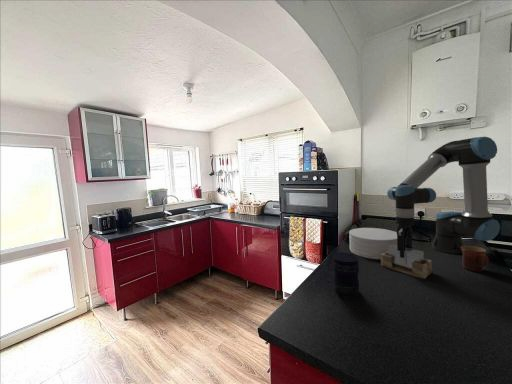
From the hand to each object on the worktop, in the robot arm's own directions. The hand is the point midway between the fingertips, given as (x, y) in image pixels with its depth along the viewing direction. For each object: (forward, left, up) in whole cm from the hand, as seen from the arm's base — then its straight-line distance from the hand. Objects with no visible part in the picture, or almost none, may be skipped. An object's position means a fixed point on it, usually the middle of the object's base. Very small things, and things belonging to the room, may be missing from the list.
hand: (404, 262), depth 106 cm
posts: (0, 0, -4) cm, 4 cm away
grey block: (0, 0, -1) cm, 1 cm away
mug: (-21, +22, -4) cm, 31 cm away
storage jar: (+40, -8, -4) cm, 41 cm away
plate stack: (-15, -22, -4) cm, 27 cm away
